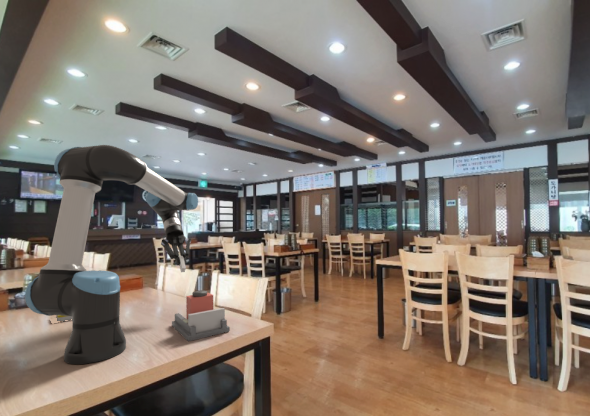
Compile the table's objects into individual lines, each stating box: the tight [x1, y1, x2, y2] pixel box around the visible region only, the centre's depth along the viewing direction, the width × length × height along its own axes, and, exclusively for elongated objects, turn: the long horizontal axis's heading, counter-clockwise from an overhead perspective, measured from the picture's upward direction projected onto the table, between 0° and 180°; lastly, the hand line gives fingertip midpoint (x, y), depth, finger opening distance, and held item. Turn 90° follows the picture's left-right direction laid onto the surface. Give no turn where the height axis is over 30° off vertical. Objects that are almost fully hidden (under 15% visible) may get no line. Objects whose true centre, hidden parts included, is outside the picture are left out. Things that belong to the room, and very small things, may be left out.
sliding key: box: [185, 290, 214, 319], centre depth 110 cm, size 8×5×11 cm, turn 126°
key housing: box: [171, 307, 231, 342], centre depth 110 cm, size 14×20×8 cm
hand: (183, 270), depth 127 cm, fingers closed
